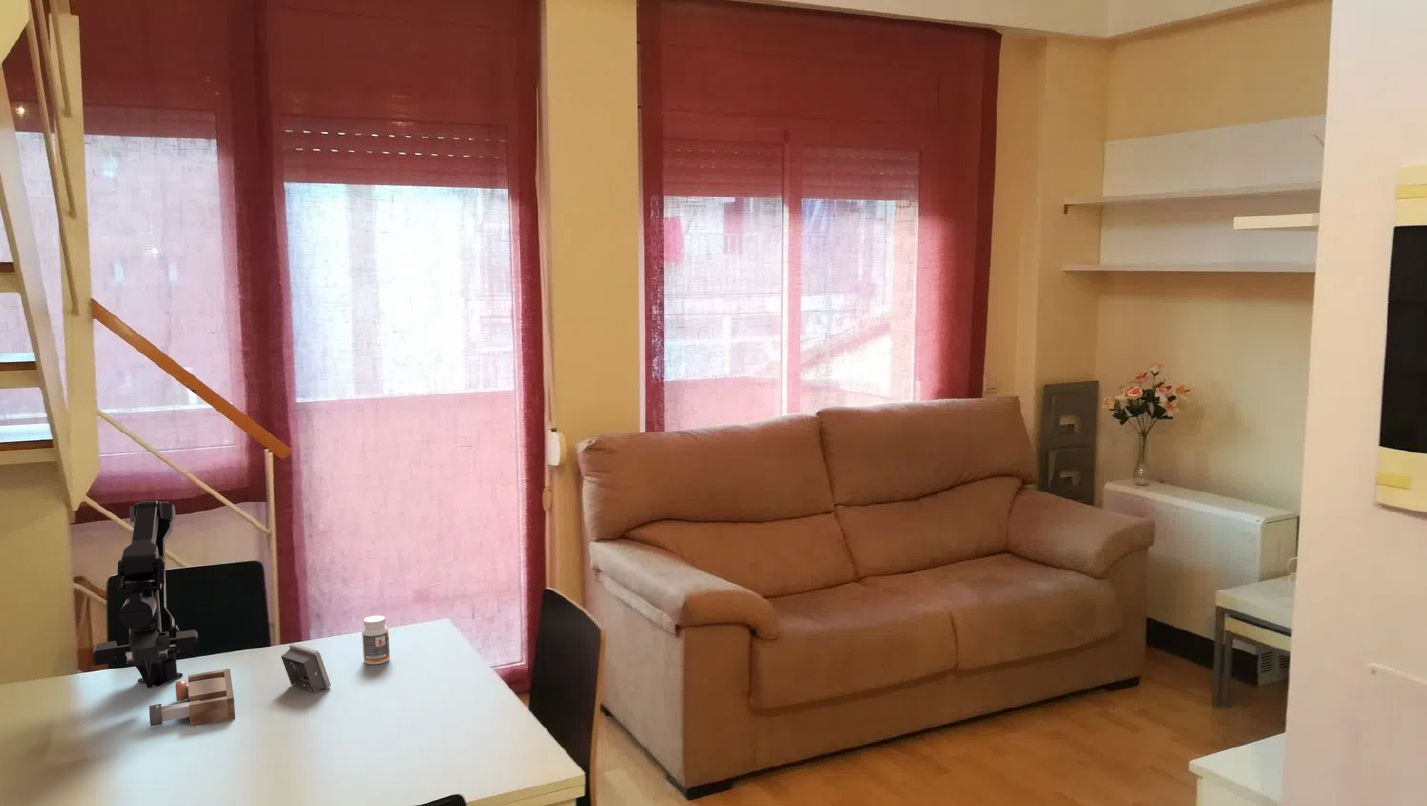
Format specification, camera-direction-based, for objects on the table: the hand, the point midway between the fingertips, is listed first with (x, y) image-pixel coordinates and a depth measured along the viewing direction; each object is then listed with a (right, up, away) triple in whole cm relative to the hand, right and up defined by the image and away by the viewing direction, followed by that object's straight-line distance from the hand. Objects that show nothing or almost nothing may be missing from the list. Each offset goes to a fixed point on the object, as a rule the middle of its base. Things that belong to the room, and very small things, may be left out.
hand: (149, 687), depth 216 cm
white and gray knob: (+9, -5, -7) cm, 12 cm away
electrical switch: (+28, -3, +10) cm, 30 cm away
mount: (+12, -4, +1) cm, 13 cm away
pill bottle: (+38, -1, +25) cm, 46 cm away
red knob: (+8, -3, +5) cm, 10 cm away
